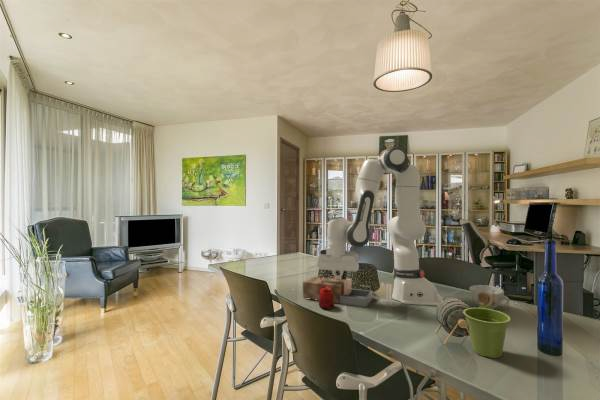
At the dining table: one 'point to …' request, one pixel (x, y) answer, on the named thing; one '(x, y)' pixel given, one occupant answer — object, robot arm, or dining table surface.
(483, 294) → the snail figurine
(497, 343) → the plant pot
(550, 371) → the dining table surface
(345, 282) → the tile
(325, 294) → the red clay folk toy
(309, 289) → the brown rectangular box
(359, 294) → the box
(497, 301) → the teacup
